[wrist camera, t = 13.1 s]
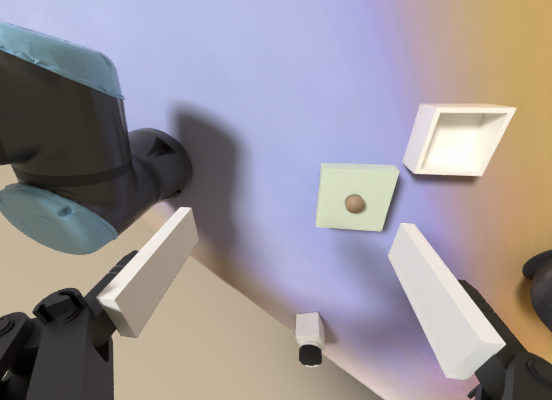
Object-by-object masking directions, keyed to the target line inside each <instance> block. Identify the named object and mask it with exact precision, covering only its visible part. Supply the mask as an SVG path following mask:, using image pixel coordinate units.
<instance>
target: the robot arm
mask: <svg viewBox="0 0 552 400" xmlns="http://www.w3.org/2000/svg"><path fill="white" fill-rule="evenodd" d="M123 100H125V99H124V96H123V95H122V92H121V88H120V84H119V79H118V74H117V70H116V67H115V65H114V64H113V62H112V61H111V60H110V59H109V58H108V57H107V56H106V55H104V54H103V53H101V52H99V51H97V50H94V49H91V48H88V47H85V46H82V45H79V44H75V43H72V42H69V41H66V40H62V39H59V38H56V37H52V36H49V35H46V34H42V33H39V32H36V31H33V30H29V29H26V28H23V27H19V26H16V25H13V24H9V23H6V22H2V21H0V165H6V164H11V166H12V168H13V170H14V172H15V174H16V177H17V179H18V183H17V184H10V185H8V186H6V187H5V189H3V190H1V191H0V211H1V212H2V214H3V215H4V216H5V218H6V219H7V220H8V221H9V222H10V223H11V224H12V225H13V226H15V227H16V228H17V229H18V230H20V231H21V232H23V233H24V234H25V235H27V236H28V237H30V238H32V239H33V240H35V241H37V242H39V243H40V244H42V245H45V246H47V247H49V248H52V249H54V250H57V251H60V252H64V253H68V254H76V255H84V254H90V253H93V252H95V251H97V250H99V249H101V248H102V247H103V246H104V245H106V244H107V243H109V242H110V241H112V240H114V239H116V238H117V237H118V235H120V234H121V233H122V232H123V231H124V230H126V229H127V228H128V227H129V226H130V225H131V224H133V223H134V222H135V221H136V220H137V219H138V218H140V217H141V216H142V215H143V214H144V213H145V212H147V211H148V210H149V209H150V208H151V207H152V206H153V205H155V204H157V203H160V202H163V201H166V200H169V199H173V198H175V197H177V196H179V195H180V194H181V193H182V192H183V191H185V190H186V189H187V187H188V186H189V184H190V182H191V179H192V167H191V163H190V160H189V157H188V155H187V154H186V152H185V150H184V149H183V148H182V146H181V145H180V144H179V143H178V142H177V141H176V140H175V139H173V138H172V137H171V136H169V135H168V134H166V133H164V132H162V131H159V130H156V129H151V128H142V129H138V130H135V131H131V132H129V133H128V130H127V123H126V116H125V109H124V102H123ZM198 241H199V239H198V234H197V230H196V225H195V221H194V216H193V212H192V208H188V207H180V208H179V209H178V210H177V211H176V212H175V213H174V214H173V216H172V217H171V218H170V219H169V220H168V221H167V222H166V223H165V224H164V225H163V226H162V227H161V228H160V230H159V231H158V232H157V233H156V234H155V235H154V236H153V237H152V238H151V239H150V240H149V241H148V242H147V244H146V245H145V246H144V247H143V248H142V249H141V250H140V251H135V250H134V251H132V252H131V253H129V254H128V255H126V256H125V257H123V258H122V259H121V260H120V261H119V262H118V263H117V264H116V267H114V268H112V269H111V271H109V274H107V275H106V276H105V277H104V278H103V279H102V280H101V281H100V282H99V283H98V284H97V285H96V286H95V287H94V288H93V289H92V290H91V291H90V292H89V293H88V294H87V295H86V296H85V297H83V296H82V294H81V293H80V292H79V290H77V289H75V288H66V289H62V290H59V291H57V292H54V293H52V294H50V295H49V296H47V297H46V298H44V299H43V300H42V301H41V302H40V303H39V304H38V305H36V307H35V308H34V310H33V314H34V315H35V316H36V317H37V318H33V319H30V318H29V317H28V316H27V315H26V314H25V313H22V312H15V313H11V314H8V315H5V316H2V317H1V318H0V400H114V388H113V387H114V386H113V385H114V383H113V382H114V380H113V340H112V337H111V335H112V334H113V333H114V331H115V330H116V329H117V330H118V332H119V334H120V335H121V336H125V337H133V338H137V337H138V336H139V334H140V332H141V331H142V329H143V328H144V326H145V325H146V323H147V321H148V320H149V318H150V316H151V315H152V313H153V312H154V310H155V308H156V307H157V306H158V304H159V302H160V301H161V299H162V297H163V296H164V294H165V293H166V291H167V290H168V288H169V286H170V285H171V283H172V282H173V280H174V278H175V277H176V275H177V274H178V272H179V270H180V269H181V268H182V266H183V264H184V263H185V261H186V260H187V258H188V256H189V255H190V253H191V252H192V250H193V248H194V247H195V245H196V244H197V242H198ZM388 258H389V260H390V262H391V264H392V266H393V268H394V270H395V272H396V274H397V276H398V278H399V280H400V283H401V285H402V287H403V289H404V291H405V293H406V295H407V297H408V299H409V301H410V303H411V305H412V308H413V310H414V312H415V314H416V316H417V318H418V320H419V322H420V324H421V326H422V328H423V330H424V332H425V335H426V337H427V339H428V341H429V343H430V345H431V347H432V349H433V351H434V353H435V355H436V357H437V360H438V362H439V364H440V366H441V368H442V370H443V372H444V374H445V376H446V378H452V379H460V380H468V379H469V378H470V377H471V376H472V375H473V374H474V373H475V375H476V377H477V378H478V380H479V382H480V384H479V385H478V386H476V387H475V388H474V389H473V390H472V391H470V392H469V394H468V396H467V397H469V398H470V399H471V398H473V397H474V396H475V395H476V396H475V400H552V364H550V363H549V362H547V361H546V360H544V359H543V358H541V357H539V356H537V355H535V354H532V353H529V352H528V351H527V350H526V349H525V348H524V347H523V345H522V344H521V343H520V342H519V341H518V339H517V338H516V337H515V336H514V335H513V333H512V332H511V331H510V330H509V328H508V327H507V326H506V325H505V324H504V322H503V321H502V320H501V319H500V318H499V316H498V315H497V314H496V313H494V312H493V311H494V310H493V309H492V308H491V307H490V305H489V304H488V303H486V300H485V299H484V298H483V297H482V296H481V294H480V293H479V292H478V291H477V290H476V289H475V288H474V287H472V286H471V285H470V284H469V283H467V282H466V281H465V280H457V279H456V278H455V277H454V275H453V274H452V273H451V271H450V270H449V269H448V268H447V266H446V265H445V264H444V262H443V261H442V260H441V258H440V257H439V256H438V254H437V253H436V252H435V251H434V249H433V248H432V247H431V245H430V244H429V243H428V241H427V240H426V239H425V238H424V236H423V235H422V234H421V232H420V231H419V230H418V228H417V227H416V226H415V224H408V223H401V224H400V226H399V229H398V232H397V234H396V237H395V239H394V242H393V244H392V247H391V249H390V252H389V255H388ZM7 371H8V372H7ZM6 372H7V374H6V376H5V377H4V375H5V373H6ZM3 377H4V378H3ZM2 378H3V380H2ZM1 380H2V381H1Z"/></svg>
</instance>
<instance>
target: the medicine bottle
mask: <svg viewBox="0 0 552 400" xmlns="http://www.w3.org/2000/svg"><path fill="white" fill-rule="evenodd" d="M295 339H296V340H297V342H298V344H299V346H300V347H299V361H300V362H301V363H302V364H303V365H305V366H308V367H316V366H319V365H320V364H321V362H322V355H321V350H323V349H325V337H324V325H323V322H322V320H321V318H320V315H319V313H318V312H312V313H302V314H296V324H295Z"/></svg>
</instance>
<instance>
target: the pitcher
mask: <svg viewBox="0 0 552 400" xmlns="http://www.w3.org/2000/svg"><path fill="white" fill-rule="evenodd" d="M523 273H524V275H525V276H526V277H527V278H528V279H530V280H532V286H531V292H530V295H531V302H532V306H533V308H534V310H535V311H536V313H537V315H538V316H539V318H540V319H541V321H542V322H543V323H544V324H545V325H546V327H547V328H548V329H549V330H550V331H551V332H552V250H549V251H546V252H543V253H540V254H538V255H536V256H534V257H532V258H531V259H529V260H528V261H527V262H526V263H525V265H524V266H523Z"/></svg>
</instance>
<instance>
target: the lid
mask: <svg viewBox="0 0 552 400" xmlns="http://www.w3.org/2000/svg"><path fill="white" fill-rule="evenodd" d="M399 172H400V171H399V170H398V169H397V168H396V167H395V166H394V165H371V164H341V163H321V170H320V180H319V190H318V199H317V209H316V219H315V220H316V227H324V228H339V229H353V230H368V231H382V228H383V225H384V221H385V218H386V215H387V211H388V208H389V205H390V201H391V198H392V195H393V192H394V188H395V185H396V182H397V178H398V175H399Z"/></svg>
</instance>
